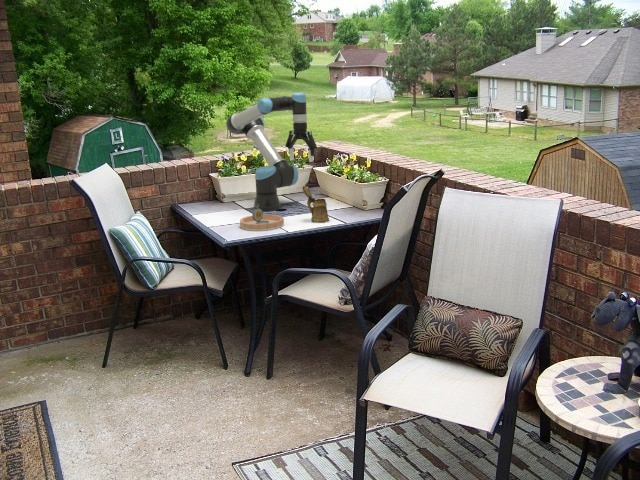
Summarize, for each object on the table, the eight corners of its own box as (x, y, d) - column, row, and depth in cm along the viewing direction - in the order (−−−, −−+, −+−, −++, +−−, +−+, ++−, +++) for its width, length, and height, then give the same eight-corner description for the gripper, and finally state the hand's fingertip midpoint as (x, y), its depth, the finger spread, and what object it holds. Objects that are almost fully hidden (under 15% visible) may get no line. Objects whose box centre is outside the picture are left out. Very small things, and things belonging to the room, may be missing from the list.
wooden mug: (306, 218, 369) (305, 184, 364) (331, 219, 364) (330, 185, 360) (301, 222, 361) (299, 187, 356) (325, 223, 356) (324, 188, 352)
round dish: (231, 227, 354) (230, 221, 353) (260, 218, 371) (259, 212, 370) (264, 232, 341) (263, 226, 340) (292, 223, 358) (292, 217, 357)
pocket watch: (267, 225, 352) (266, 206, 349) (251, 225, 353) (250, 206, 351) (271, 221, 360) (270, 202, 357) (255, 221, 361) (254, 202, 358)
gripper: (277, 122, 384) (279, 160, 389) (314, 123, 369) (315, 163, 375) (286, 120, 390) (288, 158, 395) (322, 122, 375) (323, 161, 381)
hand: (301, 160), depth 385 cm, fingers open, 13 cm apart
